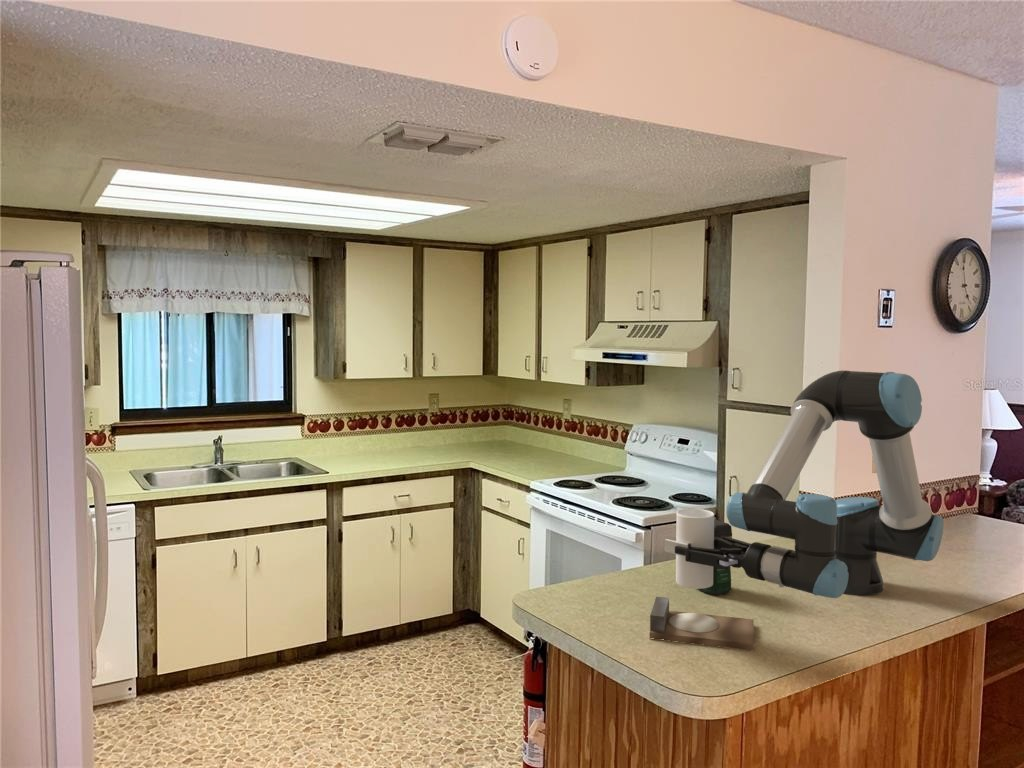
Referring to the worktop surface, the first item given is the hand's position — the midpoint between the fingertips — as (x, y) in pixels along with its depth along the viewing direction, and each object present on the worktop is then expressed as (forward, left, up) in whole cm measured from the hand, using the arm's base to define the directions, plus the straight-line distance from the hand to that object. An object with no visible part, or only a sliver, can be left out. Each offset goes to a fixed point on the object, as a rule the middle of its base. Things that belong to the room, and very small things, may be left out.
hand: (677, 541), depth 177 cm
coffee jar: (-7, -26, -20) cm, 33 cm away
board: (-6, +3, -19) cm, 21 cm away
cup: (-4, +2, -9) cm, 10 cm away
